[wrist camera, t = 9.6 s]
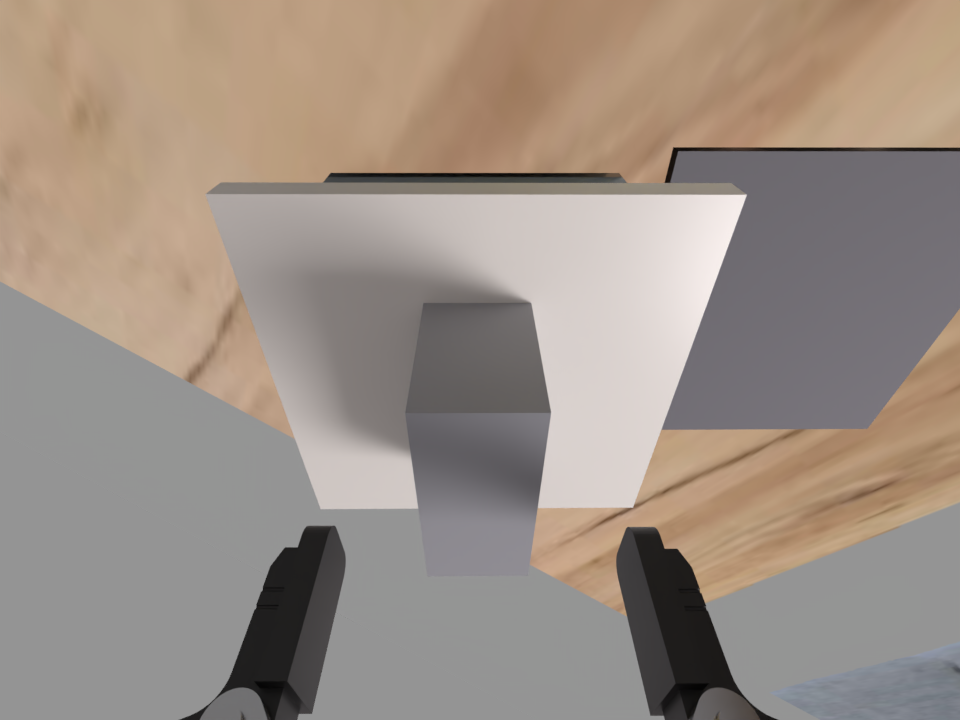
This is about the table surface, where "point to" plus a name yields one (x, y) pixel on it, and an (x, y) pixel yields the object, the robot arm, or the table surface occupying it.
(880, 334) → the mat
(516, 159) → the table surface
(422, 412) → the lid
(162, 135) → the table surface
